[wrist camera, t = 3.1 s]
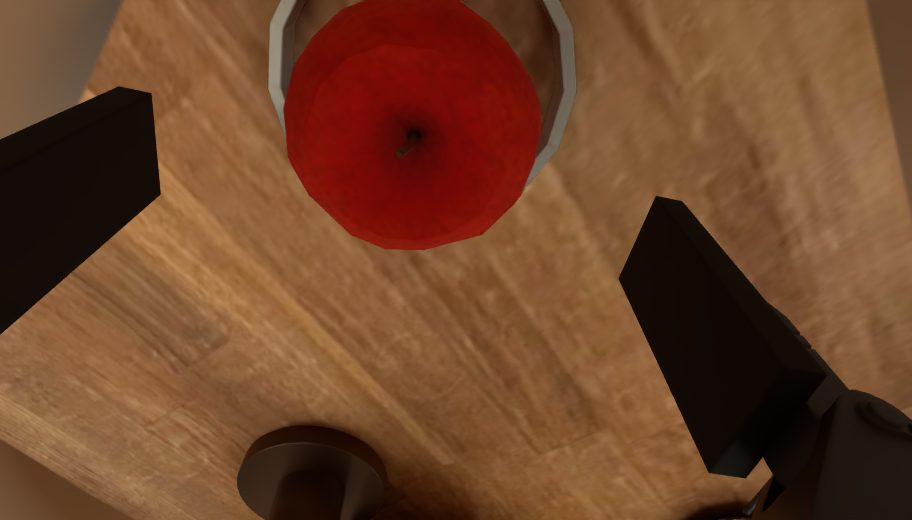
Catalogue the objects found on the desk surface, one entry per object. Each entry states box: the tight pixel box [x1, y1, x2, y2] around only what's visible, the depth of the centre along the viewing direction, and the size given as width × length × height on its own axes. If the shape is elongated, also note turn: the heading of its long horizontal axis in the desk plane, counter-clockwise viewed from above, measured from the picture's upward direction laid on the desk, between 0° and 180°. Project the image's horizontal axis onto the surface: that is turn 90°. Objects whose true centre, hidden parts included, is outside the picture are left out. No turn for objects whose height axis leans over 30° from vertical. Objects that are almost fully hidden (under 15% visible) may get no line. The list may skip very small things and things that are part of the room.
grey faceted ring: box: [268, 0, 577, 191], centre depth 24 cm, size 14×14×2 cm
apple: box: [283, 0, 542, 250], centre depth 21 cm, size 9×9×11 cm
